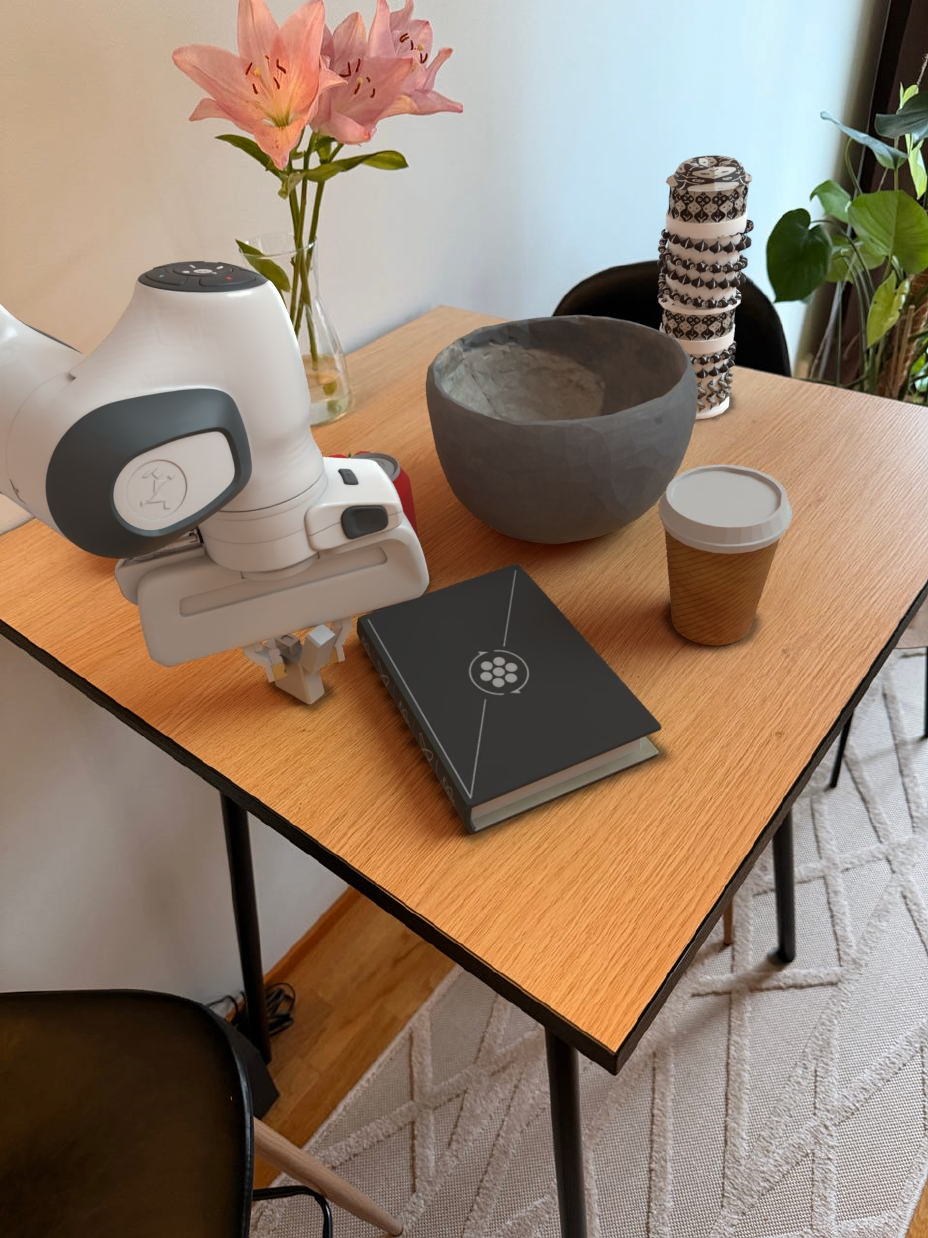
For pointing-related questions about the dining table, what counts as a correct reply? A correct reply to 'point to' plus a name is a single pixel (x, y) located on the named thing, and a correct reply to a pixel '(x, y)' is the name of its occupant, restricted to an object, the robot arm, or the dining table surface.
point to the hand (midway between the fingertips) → (306, 666)
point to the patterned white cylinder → (705, 269)
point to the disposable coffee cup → (720, 547)
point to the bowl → (561, 423)
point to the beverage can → (395, 482)
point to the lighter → (304, 662)
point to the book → (504, 695)
